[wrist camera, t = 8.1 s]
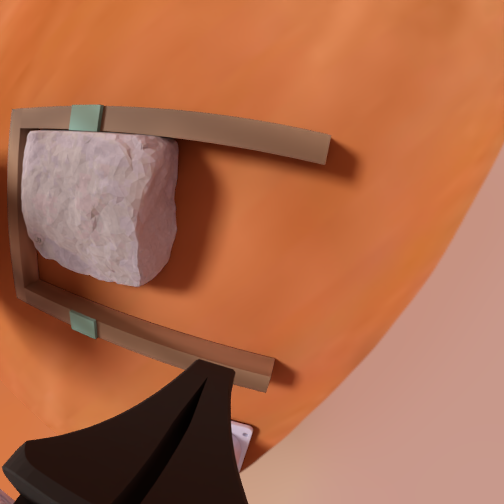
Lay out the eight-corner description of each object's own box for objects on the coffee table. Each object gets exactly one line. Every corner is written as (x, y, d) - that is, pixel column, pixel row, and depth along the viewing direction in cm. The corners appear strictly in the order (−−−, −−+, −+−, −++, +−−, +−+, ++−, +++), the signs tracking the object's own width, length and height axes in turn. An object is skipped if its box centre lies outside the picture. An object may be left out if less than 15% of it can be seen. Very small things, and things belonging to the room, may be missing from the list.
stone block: (186, 267, 22) (188, 123, 17) (153, 309, 18) (143, 138, 13) (66, 235, 24) (52, 120, 19) (28, 263, 20) (4, 136, 15)
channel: (270, 374, 22) (265, 396, 19) (31, 289, 24) (14, 299, 22) (329, 136, 16) (331, 133, 14) (30, 108, 19) (9, 108, 17)
